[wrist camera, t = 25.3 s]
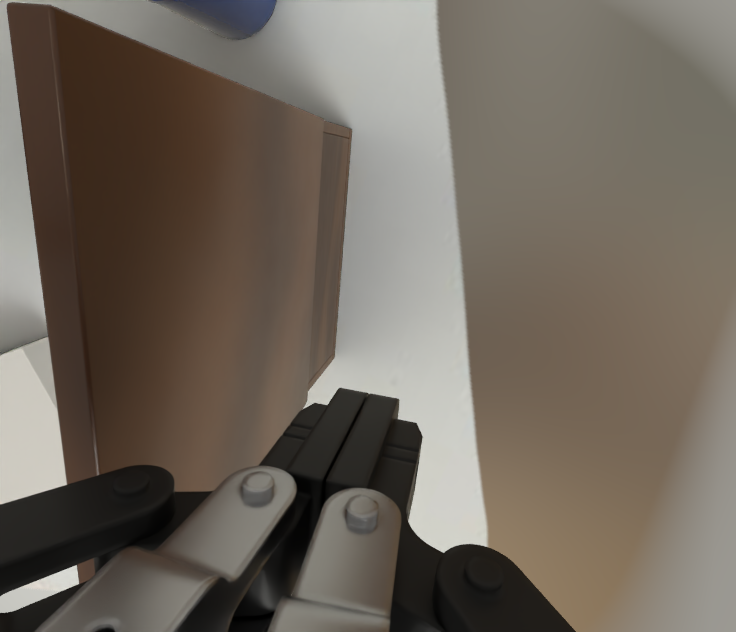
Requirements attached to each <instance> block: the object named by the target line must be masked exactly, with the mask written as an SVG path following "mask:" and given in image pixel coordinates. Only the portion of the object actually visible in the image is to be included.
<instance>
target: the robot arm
mask: <svg viewBox="0 0 736 632" xmlns="http://www.w3.org/2000/svg"><path fill="white" fill-rule="evenodd" d="M398 411H399V399H397V398H391V397H386V396H381V395H376V394H368V393H365V392H359V391H354V390H349V389H344V388H339V389H338V390H337V392H336V393H335V395H334V396H333V398H332V399H331V401H330V402H329V404H328V405H323V404H318V403H314V404H312V405H310V406H308V407H307V408H305V409H303V410H301V411H299V413H298V414H297V415H296V417H295V418H294V419H293V420H292V422H291V424H290V425H289V426H288V427H287V428H286V430H285V431H284V432H283V435H281V436H280V438H279V439H278V440H277V442H276V443H275V444H274V446H273V447H272V448H271V450H270V451H269V452H268V454H267V455H266V456H265V457H264V459H263V460H262V461H261V463H260V464H259V465H258V466H251V467H247V468H243V469H240V470H238V471H236V472H234V473H232V474H231V475H229V476H228V477H227V478H226V479H224V480H223V482H222V483H221V484H220V485H219V486H218V487H217V488H216V489H215V490H214V491H195V492H175V483H174V478H173V476H172V474H171V473H170V472H169V471H167V470H166V469H164V468H162V467H158V466H154V465H134V466H128V467H124V468H121V469H117V470H114V471H111V472H107V473H104V474H101V475H97V476H94V477H91V478H87V479H84V480H81V481H77V482H74V483H71V484H67V485H64V486H61V487H57V488H54V489H51V490H47V491H44V492H41V493H37V494H34V495H31V496H27V497H24V498H21V499H17V500H14V501H11V502H7V503H4V504H1V505H0V596H1V595H3V594H5V593H7V592H9V591H11V590H14V589H16V588H19V587H22V586H24V585H27V584H29V583H32V582H34V581H37V580H39V579H42V578H44V577H47V576H50V575H52V574H55V573H57V572H60V571H62V570H65V569H67V568H70V567H72V566H75V565H77V564H80V563H82V562H85V561H88V560H90V559H93V560H94V569H95V575H94V576H93V577H92V578H90V579H89V580H88V581H85V582H83V583H81V584H78V585H76V586H73V587H71V588H69V589H66V590H64V591H61V592H59V593H57V594H54V595H52V596H49V597H47V598H45V599H42V600H40V601H38V602H35V603H33V604H30V605H28V606H25V607H23V608H21V609H19V610H16V611H13V612H8V613H0V632H576V631H575V630H574V629H573V628H572V627H571V626H570V625H569V624H568V623H567V621H566V620H565V619H564V618H563V617H562V616H561V615H560V614H559V613H558V611H557V610H556V609H555V608H554V607H553V606H552V605H551V604H550V603H549V601H548V600H547V599H546V598H545V597H544V596H543V595H542V593H541V592H540V591H539V590H538V589H537V588H536V587H535V586H534V585H533V583H532V582H531V581H530V580H529V579H528V578H527V577H526V576H525V575H524V573H523V572H522V571H521V570H520V569H519V568H518V567H517V566H516V565H515V564H514V563H513V562H512V561H511V560H510V559H508V558H507V557H506V556H504V555H503V554H501V553H499V552H497V551H495V550H493V549H491V548H488V547H485V546H480V545H473V544H465V545H459V546H455V547H453V548H450V549H449V550H447V551H446V552H445V553H442V552H440V551H439V550H437V549H435V548H433V547H431V546H430V545H428V544H426V543H425V542H424V541H423V540H421V539H420V538H419V537H418V536H417V535H416V534H415V532H414V531H413V530H412V528H411V527H410V525H409V523H408V519H409V514H410V510H411V505H412V500H413V495H414V491H415V484H416V477H417V471H418V464H419V457H420V450H421V443H422V437H423V436H422V434H421V432H420V430H419V428H418V426H417V423H413V422H408V421H403V420H398ZM291 594H292V595H291Z"/></svg>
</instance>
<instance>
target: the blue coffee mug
mask: <svg viewBox="0 0 736 632" xmlns="http://www.w3.org/2000/svg"><path fill="white" fill-rule="evenodd" d="M146 1H149V2H152V3H156V4H158V5H160V6H162V7H164V8H166V9H168V10H170V11H172V12H174V13H176V14H178V15H179V16H181V17H183V18H185V19H187V20H189V21H191V22H193V23H195V24H197V25H199V26H201V27H203V28H205V29H207V30H209V31H211V32H213V33H215V34H217V35H219V36H221V37H223V38H226V39H232V40H239V39H244V38H247V37H250V36H252V35H253V34H255V33H257V32H258V31H259V30H260V29H261V28H262V27H263V26H264V25H265V24H266V23H267V21H268V20H269V18H270V16H271V15H272V12H273V10H274V7H275V4H276V0H146Z"/></svg>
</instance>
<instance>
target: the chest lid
mask: <svg viewBox="0 0 736 632" xmlns="http://www.w3.org/2000/svg"><path fill="white" fill-rule="evenodd" d="M7 14H8V22H9V30H10V37H11V45H12V53H13V61H14V69H15V77H16V85H17V93H18V101H19V109H20V117H21V125H22V133H23V141H24V149H25V157H26V164H27V172H28V180H29V188H30V196H31V204H32V212H33V220H34V228H35V236H36V244H37V252H38V260H39V268H40V276H41V284H42V291H43V299H44V307H45V315H46V323H47V331H48V339H49V347H50V355H51V363H52V371H53V379H54V387H55V395H56V403H57V411H58V418H59V426H60V434H61V442H62V450H63V458H64V466H65V474H66V482H67V484H71V483H74V482H77V481H81V480H84V479H87V478H91V477H94V476H97V475H101V474H104V473H107V472H111V471H114V470H117V469H121V468H124V467H128V466H134V465H154V466H158V467H162V468H164V469H166V470H167V471H169V472H170V473H171V474H172V476H173V478H174V483H175V492H195V491H214V490H215V489H216V488H217V487H218V486H219V485H220V484H221V483H222V482H223V480H224V479H226V478H227V477H228V476H229V475H231V474H232V473H234V472H236V471H238V470H240V469H243V468H247V467H251V466H258V465H259V464H260V463H261V461H262V460H263V459H264V457H265V456H266V455H267V454H268V452H269V451H270V450H271V448H272V447H273V446H274V444H275V443H276V442H277V440H278V439H279V438H280V436H281V435H283V432H284V431H285V430H286V428H287V427H288V426H289V425H290V424H291V422H292V420H293V419H294V418H295V417H296V415H297V414H298V413H299V411H301V410H302V409H303V407H304V406H305V404H306V402H307V396H308V380H309V363H310V346H311V330H312V313H313V296H314V280H315V263H316V246H317V230H318V213H319V196H320V180H321V163H322V146H323V129H324V119H323V118H321V117H319V116H316V115H314V114H311V113H309V112H306V111H304V110H302V109H299V108H297V107H294V106H292V105H290V104H287V103H285V102H282V101H280V100H278V99H275V98H273V97H270V96H268V95H266V94H263V93H261V92H258V91H256V90H254V89H251V88H249V87H246V86H244V85H242V84H239V83H237V82H234V81H232V80H230V79H227V78H225V77H222V76H220V75H218V74H215V73H213V72H210V71H208V70H206V69H203V68H201V67H198V66H196V65H194V64H191V63H189V62H186V61H184V60H182V59H179V58H177V57H174V56H172V55H170V54H167V53H165V52H162V51H160V50H158V49H155V48H153V47H150V46H148V45H146V44H143V43H141V42H138V41H136V40H133V39H131V38H129V37H126V36H124V35H121V34H119V33H117V32H114V31H112V30H109V29H107V28H105V27H102V26H100V25H97V24H95V23H93V22H90V21H88V20H85V19H83V18H81V17H78V16H76V15H73V14H71V13H69V12H66V11H64V10H61V9H59V8H57V7H54V6H52V5H44V4H29V3H15V2H12V3H8V4H7ZM77 569H78V577H79V584H81V583H83V582H85V581H88V580H89V579H90V578H92V577H93V576H94V575H95V569H94V560H93V559H90V560H88V561H85V562H82V563H80V564H77Z"/></svg>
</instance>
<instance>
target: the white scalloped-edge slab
mask: <svg viewBox="0 0 736 632" xmlns="http://www.w3.org/2000/svg"><path fill="white" fill-rule="evenodd" d="M64 485H67V482H66V474H65V466H64V458H63V450H62V442H61V434H60V426H59V418H58V411H57V403H56V395H55V387H54V379H53V371H52V363H51V355H50V347H49V339H48V337H46V338H43V339H40V340H37V341H34V342H31V343H29V344H26V345H23V346H21V347H18V348H16V349H13V350H10V351H8V352H5V353H2V354H0V505H1V504H4V503H7V502H11V501H14V500H17V499H21V498H24V497H27V496H31V495H34V494H37V493H41V492H44V491H47V490H51V489H54V488H57V487H61V486H64Z"/></svg>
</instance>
